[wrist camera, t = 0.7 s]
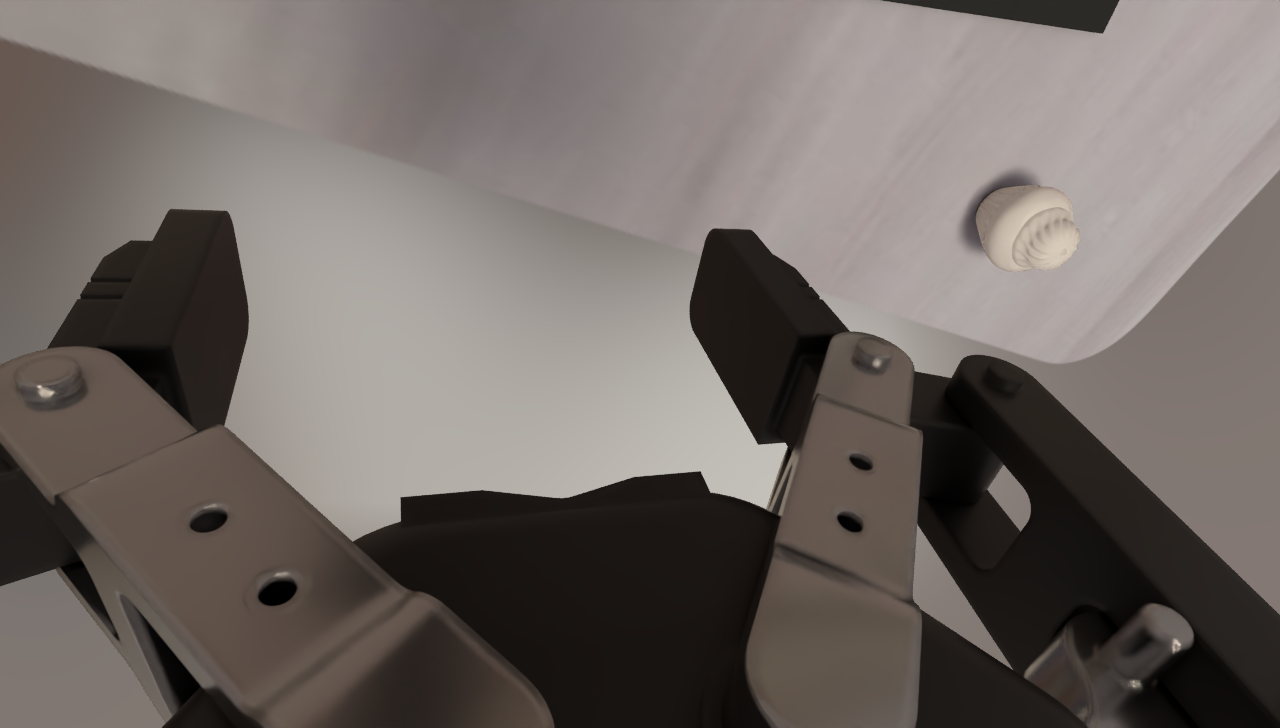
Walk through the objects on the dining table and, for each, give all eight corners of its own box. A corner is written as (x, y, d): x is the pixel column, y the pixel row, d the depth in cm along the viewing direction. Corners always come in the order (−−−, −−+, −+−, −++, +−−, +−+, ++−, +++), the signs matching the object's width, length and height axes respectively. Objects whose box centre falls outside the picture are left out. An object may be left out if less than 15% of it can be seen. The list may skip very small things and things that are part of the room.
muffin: (966, 176, 48) (1038, 220, 43) (1043, 160, 49) (1123, 200, 44) (949, 255, 52) (1013, 304, 47) (1020, 238, 53) (1091, 284, 48)
